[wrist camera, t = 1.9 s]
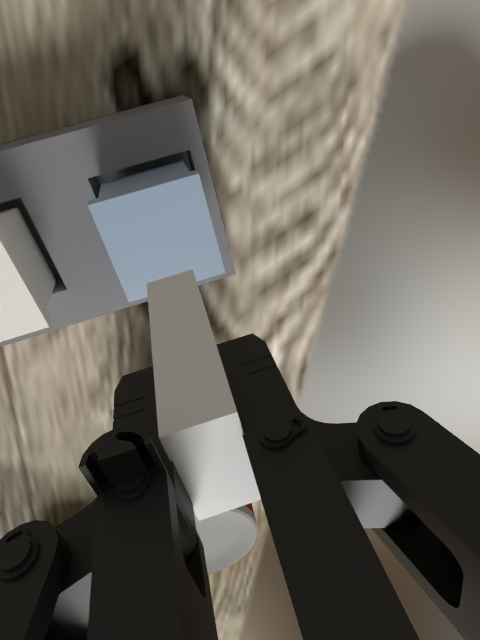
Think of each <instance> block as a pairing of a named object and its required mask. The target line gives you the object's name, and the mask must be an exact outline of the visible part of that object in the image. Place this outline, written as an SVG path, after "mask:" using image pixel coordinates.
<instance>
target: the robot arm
mask: <svg viewBox="0 0 480 640" xmlns="http://www.w3.org/2000/svg"><path fill="white" fill-rule="evenodd" d="M147 295H148V308H149V320H150V333H151V346H152V358H153V366H152V367H149V368H146V369H143V370H140V371H136V372H133V373H130V374H127V375H124V376H123V377H122V378H121V380H120V382H119V384H118V386H117V388H116V389H115V392H114V408H115V409H114V414H113V419H114V421H113V430H111V431H109V432H107V433H105V434H103V435H102V436H100V437H99V438H98V439H97V440H95V441H94V442H93V443H92V444H91V445H90V446H89V447H88V449H87V450H86V451H85V453H84V454H83V456H82V458H81V461H80V464H79V467H78V468H79V469H80V471H81V472H82V474H83V475H84V477H85V478H86V479H87V481H88V482H89V484H90V485H91V487H92V488H93V490H94V491H95V493H96V494H97V498H96V499H95V500H94V501H93V502H92V503H91V504H90V505H88V506H87V507H86V508H84V509H83V510H82V511H80V512H79V513H77V514H76V515H74V516H72V517H71V518H69V519H68V520H66V521H65V522H63V523H62V524H60V525H58V526H57V527H53V526H52V525H51V524H50V523H48V522H47V521H37V520H34V521H31V522H28V523H24V524H21V525H19V526H18V527H16V528H15V529H13V530H11V531H10V532H8V533H7V534H6V535H5V536H4V537H3V538H2V539H1V540H0V640H218V636H217V630H216V623H215V617H214V610H213V604H212V598H211V591H210V585H209V579H208V572H207V566H206V560H205V553H204V547H203V544H202V541H201V539H200V536H199V534H198V532H197V530H196V524H195V517H194V512H195V514H196V516H197V518H198V521H200V520H203V519H206V518H209V517H212V516H215V515H218V514H220V513H223V512H226V511H229V510H232V509H235V508H238V507H241V506H244V505H247V504H249V503H252V502H255V501H258V500H262V504H263V507H264V510H265V514H266V517H267V520H268V524H269V527H270V530H271V534H272V537H273V540H274V543H275V547H276V550H277V554H278V557H279V560H280V564H281V567H282V570H283V574H284V577H285V580H286V584H287V587H288V590H289V593H290V597H291V600H292V603H293V607H294V610H295V614H296V617H297V620H298V624H299V627H300V630H301V634H302V637H303V640H419V638H418V636H417V634H416V632H415V630H414V628H413V626H412V624H411V622H410V620H409V618H408V616H407V614H406V612H405V610H404V608H403V606H402V604H401V602H400V600H399V598H398V596H397V594H396V592H395V590H394V588H393V586H392V584H391V582H390V580H389V578H388V576H387V574H386V572H385V570H384V568H383V566H382V564H381V562H380V560H379V558H378V556H377V554H376V552H375V550H374V548H373V546H372V544H371V542H370V540H369V538H368V536H367V534H366V532H365V530H364V528H372V530H373V531H374V532H375V533H376V534H377V536H378V537H379V538H380V539H381V540H382V542H383V543H384V544H385V545H386V546H387V548H388V549H389V550H390V551H391V552H392V553H393V555H394V556H395V557H396V558H397V559H398V561H399V562H400V563H401V564H402V565H403V566H404V567H405V569H406V570H407V571H408V572H409V573H410V575H411V576H412V577H413V578H414V580H415V581H416V582H417V583H418V584H419V585H420V587H421V588H422V589H423V590H424V591H425V593H426V594H427V595H428V596H429V597H430V599H431V600H432V601H433V602H434V603H435V604H436V606H437V607H438V608H439V609H440V610H441V612H442V613H443V614H444V615H445V616H446V617H447V619H448V620H449V621H450V622H451V623H452V624H453V626H454V627H455V628H456V629H457V631H458V632H459V633H460V634H461V635H462V636H463V638H464V639H465V640H480V454H478V453H477V452H476V451H474V450H473V449H472V448H471V447H469V446H468V445H466V444H465V443H464V442H463V441H461V440H460V439H458V438H457V437H456V436H455V435H453V434H452V433H451V432H449V431H448V430H446V429H445V428H444V427H443V426H441V425H440V424H439V423H437V422H436V421H435V420H434V419H432V418H431V417H430V416H428V415H427V414H425V413H424V412H423V411H421V410H419V409H417V408H416V407H414V406H412V405H410V404H405V403H401V402H396V401H392V402H380V403H378V404H375V405H372V406H370V407H368V408H367V409H366V410H365V411H364V412H362V413H361V414H360V416H359V419H358V421H357V423H341V424H332V423H331V424H330V423H323V422H318V421H315V420H312V419H311V418H309V417H307V416H306V415H304V414H303V413H302V412H301V411H300V410H299V408H298V407H297V406H296V404H295V402H294V400H293V398H292V396H291V394H290V392H289V389H288V387H287V385H286V383H285V381H284V379H283V377H282V375H281V373H280V371H279V369H278V367H277V366H276V363H275V361H274V359H273V357H272V355H271V353H270V351H269V349H268V347H267V345H266V343H265V341H263V340H262V339H260V338H258V337H257V336H255V335H254V334H249V335H246V336H243V337H240V338H237V339H233V340H230V341H227V342H224V343H221V344H218V345H216V342H215V339H214V335H213V332H212V329H211V326H210V323H209V319H208V316H207V313H206V310H205V307H204V303H203V300H202V297H201V294H200V291H199V287H198V284H197V281H196V278H195V275H194V272H193V269H192V270H189V271H186V272H182V273H179V274H176V275H172V276H169V277H166V278H162V279H159V280H156V281H153V282H149V283H147Z"/></svg>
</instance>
